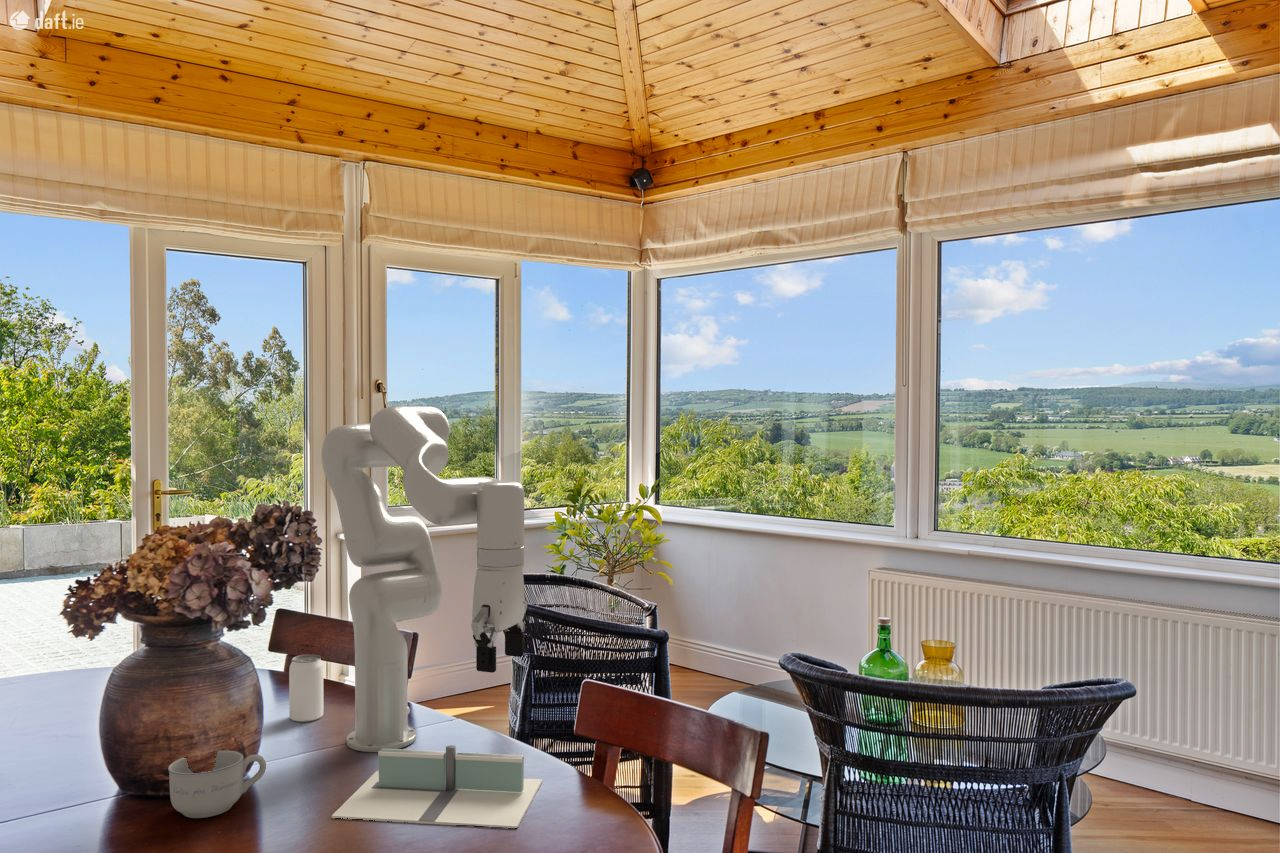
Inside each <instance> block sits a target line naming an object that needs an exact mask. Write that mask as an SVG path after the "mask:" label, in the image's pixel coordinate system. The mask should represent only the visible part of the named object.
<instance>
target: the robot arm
mask: <svg viewBox="0 0 1280 853" xmlns="http://www.w3.org/2000/svg"><path fill="white" fill-rule="evenodd" d="M450 432H451V431H450V422H449V421H448V418H447V416H446V414H444V413H443V411H442V410H441V409H439V408H437V407H435V406H432V405H392V406H387V407H385V408H382V409H380V410H378V411H377V412H376V413H375V414H374V415H372V418H371V419H370V422H369V423H364V422H363V423H362V422H361V423H351V424H350V423H349V424H344V425H339V426H337V427H334V428H332V429H331V430H330V431H329V432H327V434H326V435H325V436H324V439H323V442H322V446H321V464H322V469H323V472H324V476H325V479H326V481H327V483H328V485H329V487H330V489H331V492H332V493H333V496H334V499H335V501H336V502H335V503H336V505H337V509H338V514H339V519H340V524H341V528H342V534H343V538H344V542H345V548H346V551H347V554H348V558H349V560H350V561H351V563H352V564H353V565H354V566H355V567H359V568H362V569H363V568H364V569H366V568H369V569H370V568H378V567H384V566H393V565H399V564H400V566H401V568H402V569H397V570H388V571H383V572H382V571H380V572H376V573H375V572H374V573H369V574H367V575H365V576H362V577H360V578H358V579H357V580H356V581H355V582H353V584H352V586H351V587H350V590H349V593H348V603H349V609H350V613H351V614H350V615H351V620H352V626H353V634H354V635H353V636H354V637H353V638H354V712H355V713H354V719H355V721H354V722H355V723H354V724H355V725H354V726H355V727H354V729H355V730H353V731H351V732H350V733H349V734H348V735H347V736H346V745H347V746H348V747H349V749H351V750H352V749H353V750H355V751H359V752H365V753H378V752H379V751H380V750H381V749H402V748H403V749H404V748H405V747H409V745H411V744H413V743H414V742H415V741H416V739H417V731H416V730H415V728H413V727H412V726H409V725H408V720H409V719H408V715H409V714H410V712H411V709H410V707H409V706H408V699H409V697H408V696H409V694H408V687H409V686H408V682H409V681H408V643H407V640H406V639H405V637H404V636H403V635H402V632H400V630H399V629H398V627H397V623H399V622H403V621H408V620H414V619H417V618H418V619H420V618H423V617H427V616H431V615H432V614H434V613H436V612H437V610H439V608H440V606H441V604H442V601H443V599H442V598H443V588H442V583H441V577H440V572H439V568H438V565H437V560H436V556H435V552H434V547H433V543H432V539H431V535H430V531H429V529H428V528H427V526H426V524H425V522H424V520H422V519H421V518H420V517H419V516H416V515H414V514H412V513H411V514H410V513H401V514H389V513H388V511H387V509H386V505H385V501H384V497H383V493H382V491H381V489H380V487H379V486H378V485H377V483H376V482H375V480H373V479H372V477H370V476H369V475H368V474H366V472H364V469H368V468H388V467H400V468H401V469H402V470H403V473H402V486H403V491H404V495H405V497H406V500H407V502H408V504H410V506H411V508H413V509H414V510H415V511H416V512H417V513H418V514H419V515H420V516H422V517H423V518H424V519H425V520H426V521H428V522H429V523H432V524H433V525H438V526H451V525H460V524H468V523H476V541H477V543H476V568H477V569H476V573H475V579H474V584H473V585H474V586H473V595H472V597H473V598H472V613H471V614H472V615H471V616H472V617H471V619H472V620H471V625H470V626H471V631H472V637H473V640H474V646H475V647H476V649H475V650H476V651H475V652H476V656H475V658H476V660H475V661H476V662H475V663H476V664H475V666H476V671H478V672H484V673H495V672H497V646H494V645H495V642H496V639H497V636H498V634H499V633H501V632H504V655H505V656H507V657H519V658H522V657H523V656H524V652H525V648H524V647H525V645H524V644H525V643H524V638H525V630H526V626H525V622H526V619H527V614H526V612H527V608H528V601H527V600H525V579H524V570H523V569H524V567H525V489H524V486H523V485H522V483H520V482H518V481H514V480H501V479H498V478H496V477H492V476H463V477H451V478H449V477H448V478H439V477H437V476H438V475H440V474H441V473H442V472H443V470H444V469H445V467H446V466H447V463H448V460H449V459H450V458H449V457H450V450H449V446H448V444H447V442H448V441H449V437H450ZM487 634H489V636H488V635H487Z"/></svg>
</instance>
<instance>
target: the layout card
mask: <svg viewBox="0 0 1280 853" xmlns="http://www.w3.org/2000/svg"><path fill="white" fill-rule="evenodd" d="M543 780H544V779H541V778H540V779H539V778H524V789H523V791H522V792H507V791H488V790H470V789H455V790H453V791H448V790H446V788H445V789H444V790H435V789H417V788H398V787H379V770H376V771H375V772H374V773H372V775H370V777H369V778H368V779H367V780H366V781H365V782H364V783H363V784H362V785H361V786H360V787H359V788H358V789H357V790H356V791H355V792H353V794H352V795H351V796H349V798H348V799H347V800H345V802H344V803H343V804H341V806H339V808H338V809H336V811H335V812H333V813H332V815H331V819H335V818H341V819H340V820H352V819H363V820H362V821H369V820H373V821H374V820H375V822H387V821H390V822H391V821H392V822H391V823H404V822H406V823H407V822H408V823H407V824H424V825H425V824H426V825H442V826H456V825H479V826H495V827H497V826H498V827H507V828H506V829H508V828H517V827H518V828H519V826H520V824H521V823H520V822H522V821H523V818H524V817H525V815H526V813H527V812H528V810H529V808H530V806H531V805H532V803H533V800H534V798H535V797H536V795H537V792H538V791H539V790H540V787H541V785H542V783H543ZM527 809H528V810H527ZM526 811H527V812H526ZM342 818H343V819H342ZM347 818H348V819H347ZM521 820H522V821H521ZM518 828H517V829H518Z"/></svg>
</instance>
